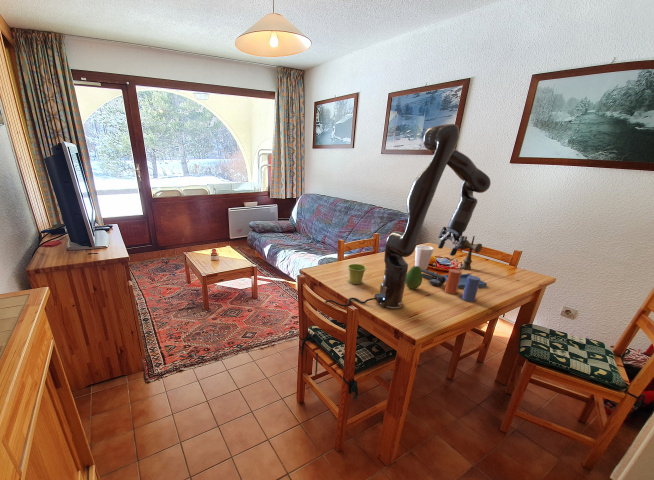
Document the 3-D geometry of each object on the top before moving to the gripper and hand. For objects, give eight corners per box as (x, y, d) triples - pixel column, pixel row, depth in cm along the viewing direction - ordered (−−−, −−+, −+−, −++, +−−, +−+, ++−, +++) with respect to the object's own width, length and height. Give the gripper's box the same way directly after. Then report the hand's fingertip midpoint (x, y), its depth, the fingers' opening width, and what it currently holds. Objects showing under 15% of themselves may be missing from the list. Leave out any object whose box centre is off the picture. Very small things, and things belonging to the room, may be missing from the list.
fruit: (421, 287, 159) (425, 265, 154) (419, 292, 153) (423, 270, 148) (405, 284, 162) (409, 262, 158) (402, 289, 156) (406, 267, 152)
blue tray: (457, 288, 157) (458, 284, 157) (441, 278, 170) (442, 275, 169) (486, 287, 159) (487, 283, 158) (468, 277, 171) (469, 273, 171)
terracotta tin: (448, 294, 151) (453, 273, 147) (442, 289, 156) (447, 269, 152) (458, 293, 152) (463, 272, 147) (452, 289, 156) (456, 268, 152)
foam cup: (430, 267, 186) (434, 246, 181) (428, 272, 178) (432, 250, 173) (413, 264, 190) (417, 244, 185) (410, 269, 183) (414, 248, 178)
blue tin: (466, 301, 143) (472, 280, 139) (459, 297, 148) (464, 275, 144) (477, 301, 144) (483, 279, 140) (469, 296, 149) (475, 275, 144)
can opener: (448, 286, 159) (450, 276, 157) (436, 288, 158) (438, 277, 156) (425, 274, 175) (427, 265, 173) (415, 275, 174) (416, 266, 172)
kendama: (461, 265, 190) (469, 233, 182) (477, 270, 182) (485, 236, 174) (455, 266, 187) (462, 234, 179) (470, 271, 179) (479, 238, 172)
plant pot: (367, 282, 165) (369, 266, 162) (358, 287, 159) (360, 271, 155) (352, 277, 171) (353, 262, 168) (343, 282, 165) (344, 267, 161)
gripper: (443, 214, 147) (430, 245, 154) (464, 223, 135) (449, 257, 142) (456, 215, 149) (442, 246, 156) (478, 225, 137) (462, 258, 144)
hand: (445, 251), depth 149 cm, fingers open, 8 cm apart
